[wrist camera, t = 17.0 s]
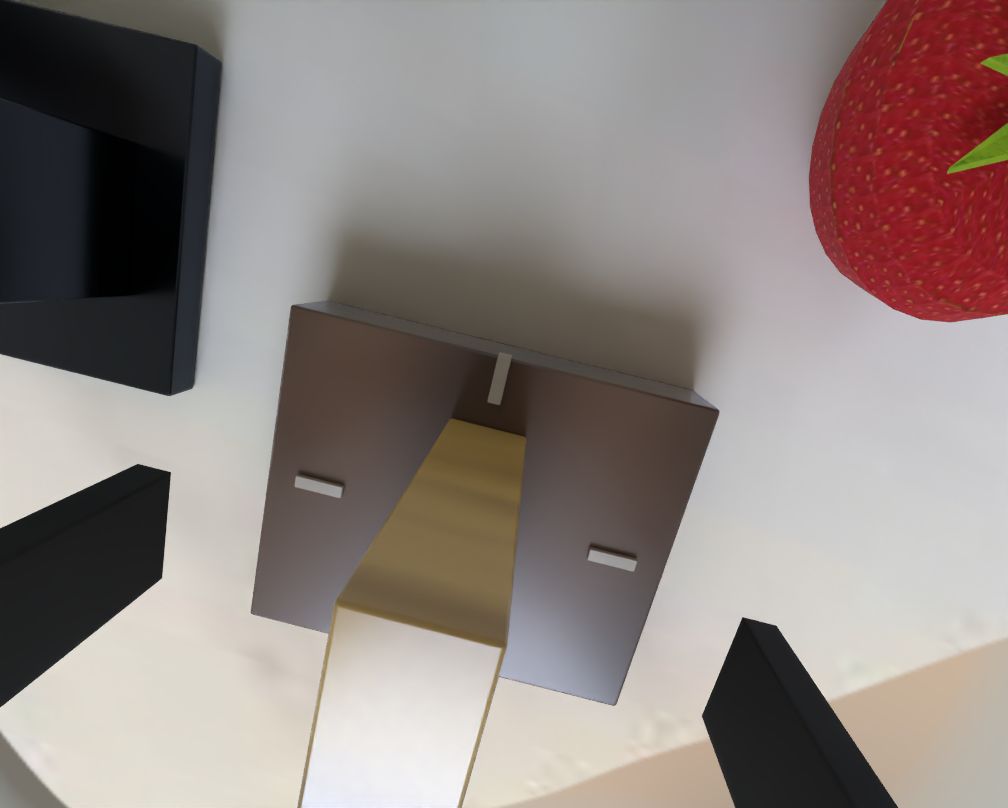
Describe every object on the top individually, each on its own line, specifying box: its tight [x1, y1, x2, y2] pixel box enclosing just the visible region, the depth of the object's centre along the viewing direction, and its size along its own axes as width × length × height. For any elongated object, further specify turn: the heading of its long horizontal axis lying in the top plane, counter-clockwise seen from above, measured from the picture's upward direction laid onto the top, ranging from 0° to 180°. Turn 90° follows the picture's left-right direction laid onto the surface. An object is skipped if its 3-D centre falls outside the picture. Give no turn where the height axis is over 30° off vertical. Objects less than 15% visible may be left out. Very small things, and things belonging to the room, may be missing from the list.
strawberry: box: [809, 0, 1008, 322], centre depth 10 cm, size 6×8×10 cm
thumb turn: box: [297, 419, 526, 808], centre depth 11 cm, size 6×2×9 cm, turn 167°
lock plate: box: [251, 301, 719, 706], centre depth 17 cm, size 12×10×3 cm
